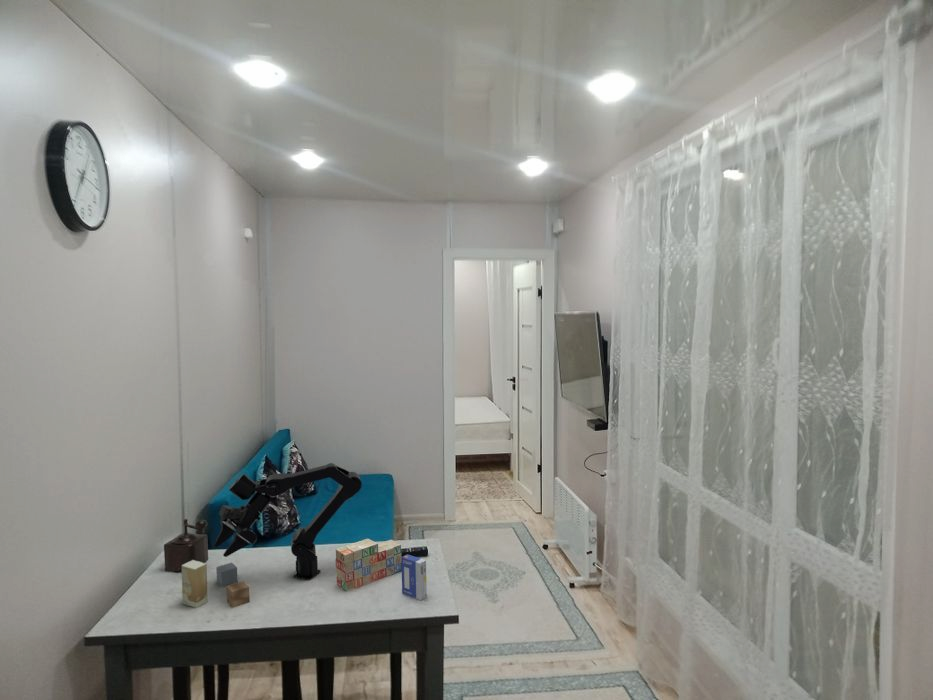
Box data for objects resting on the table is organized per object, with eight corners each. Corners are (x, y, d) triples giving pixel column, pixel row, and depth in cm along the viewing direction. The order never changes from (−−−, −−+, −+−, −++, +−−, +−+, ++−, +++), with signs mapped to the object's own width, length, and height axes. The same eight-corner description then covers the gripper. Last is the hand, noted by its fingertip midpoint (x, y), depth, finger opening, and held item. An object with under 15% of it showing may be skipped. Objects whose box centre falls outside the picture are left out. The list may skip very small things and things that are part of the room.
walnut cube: (243, 596, 177) (243, 580, 177) (249, 602, 174) (249, 586, 173) (227, 601, 174) (226, 586, 174) (232, 608, 170) (232, 592, 170)
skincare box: (181, 604, 173) (180, 565, 172) (194, 597, 177) (192, 559, 176) (196, 608, 170) (194, 569, 169) (208, 601, 174) (207, 563, 173)
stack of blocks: (392, 565, 198) (391, 530, 197) (402, 571, 193) (401, 536, 192) (336, 585, 184) (335, 548, 183) (345, 592, 179) (344, 554, 178)
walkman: (402, 593, 178) (401, 556, 177) (407, 589, 180) (407, 553, 179) (421, 600, 173) (420, 562, 172) (427, 596, 175) (426, 559, 174)
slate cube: (232, 576, 190) (231, 562, 190) (237, 582, 187) (237, 567, 186) (216, 581, 187) (216, 566, 187) (222, 587, 183) (221, 572, 183)
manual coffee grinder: (162, 572, 194) (159, 521, 193) (182, 558, 205) (179, 509, 204) (205, 574, 192) (202, 522, 191) (222, 559, 203) (220, 510, 202)
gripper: (225, 488, 187) (190, 529, 181) (245, 502, 173) (208, 548, 166) (250, 506, 193) (217, 546, 186) (271, 521, 178) (237, 566, 172)
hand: (219, 551), depth 178 cm, fingers open, 9 cm apart
